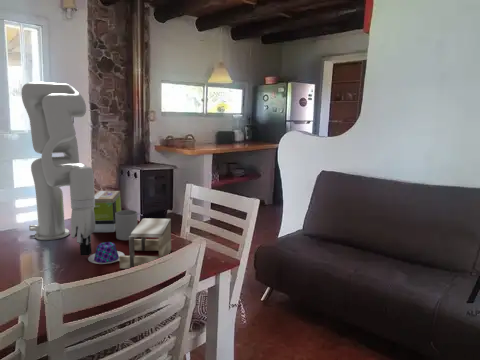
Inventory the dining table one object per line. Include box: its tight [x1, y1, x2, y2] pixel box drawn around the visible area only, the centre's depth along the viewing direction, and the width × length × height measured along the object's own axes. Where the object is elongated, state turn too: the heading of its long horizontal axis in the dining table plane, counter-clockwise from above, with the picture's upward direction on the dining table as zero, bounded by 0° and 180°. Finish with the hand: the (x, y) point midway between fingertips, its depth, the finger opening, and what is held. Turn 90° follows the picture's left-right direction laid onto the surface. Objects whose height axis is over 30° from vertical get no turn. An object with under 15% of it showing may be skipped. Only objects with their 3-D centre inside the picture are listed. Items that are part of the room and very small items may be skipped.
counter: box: [118, 217, 172, 269], centre depth 133 cm, size 14×18×12 cm
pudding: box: [87, 241, 126, 265], centre depth 133 cm, size 12×12×5 cm
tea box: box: [93, 190, 122, 233], centre depth 166 cm, size 15×10×15 cm, turn 5°
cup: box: [115, 209, 139, 241], centre depth 155 cm, size 8×8×10 cm
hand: (86, 254), depth 133 cm, fingers closed
